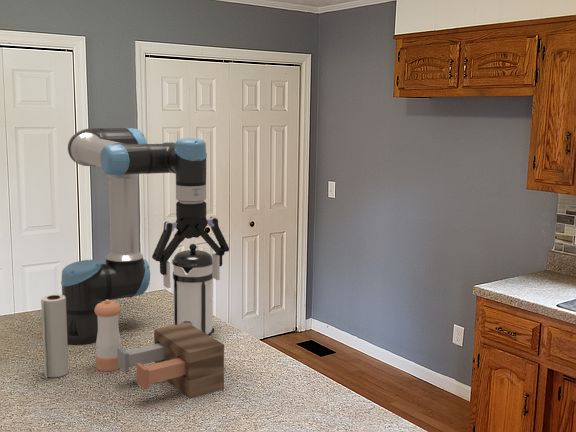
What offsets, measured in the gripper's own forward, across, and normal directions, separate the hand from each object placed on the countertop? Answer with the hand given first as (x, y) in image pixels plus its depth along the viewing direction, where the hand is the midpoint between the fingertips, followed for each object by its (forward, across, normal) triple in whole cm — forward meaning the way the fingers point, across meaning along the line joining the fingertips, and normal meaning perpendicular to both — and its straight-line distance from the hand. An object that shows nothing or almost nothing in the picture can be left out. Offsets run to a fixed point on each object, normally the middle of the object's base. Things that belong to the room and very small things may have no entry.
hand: (192, 282), depth 162 cm
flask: (+28, +6, +18) cm, 34 cm away
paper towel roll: (+28, -30, +22) cm, 47 cm away
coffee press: (+29, +14, +31) cm, 45 cm away
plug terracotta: (+22, -9, -5) cm, 25 cm away
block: (+27, -1, +1) cm, 27 cm away
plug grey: (+23, -10, +7) cm, 26 cm away
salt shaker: (+28, -16, +20) cm, 38 cm away
